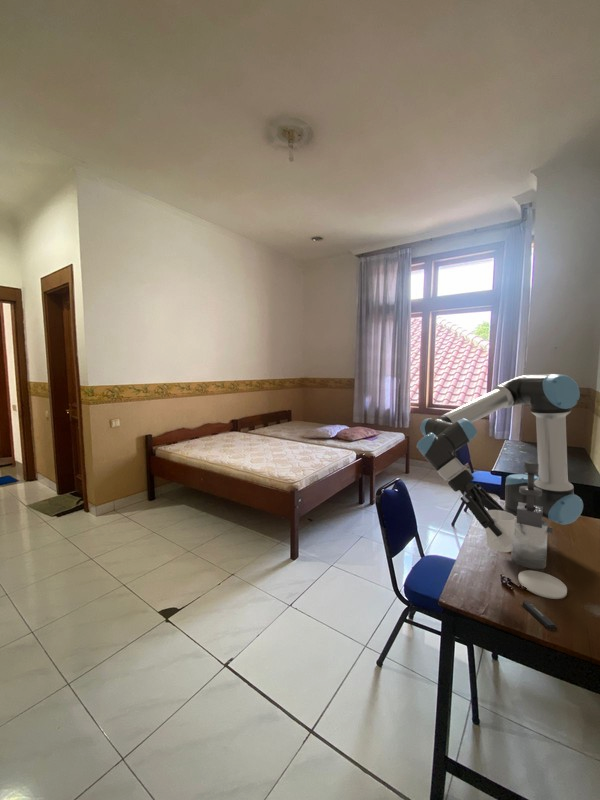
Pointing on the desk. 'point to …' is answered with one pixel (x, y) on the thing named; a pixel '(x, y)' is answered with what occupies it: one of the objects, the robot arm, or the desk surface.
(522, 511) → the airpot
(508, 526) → the white cup
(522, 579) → the saucer
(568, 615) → the desk surface
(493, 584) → the desk surface
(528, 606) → the usb stick
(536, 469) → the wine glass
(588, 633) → the desk surface
